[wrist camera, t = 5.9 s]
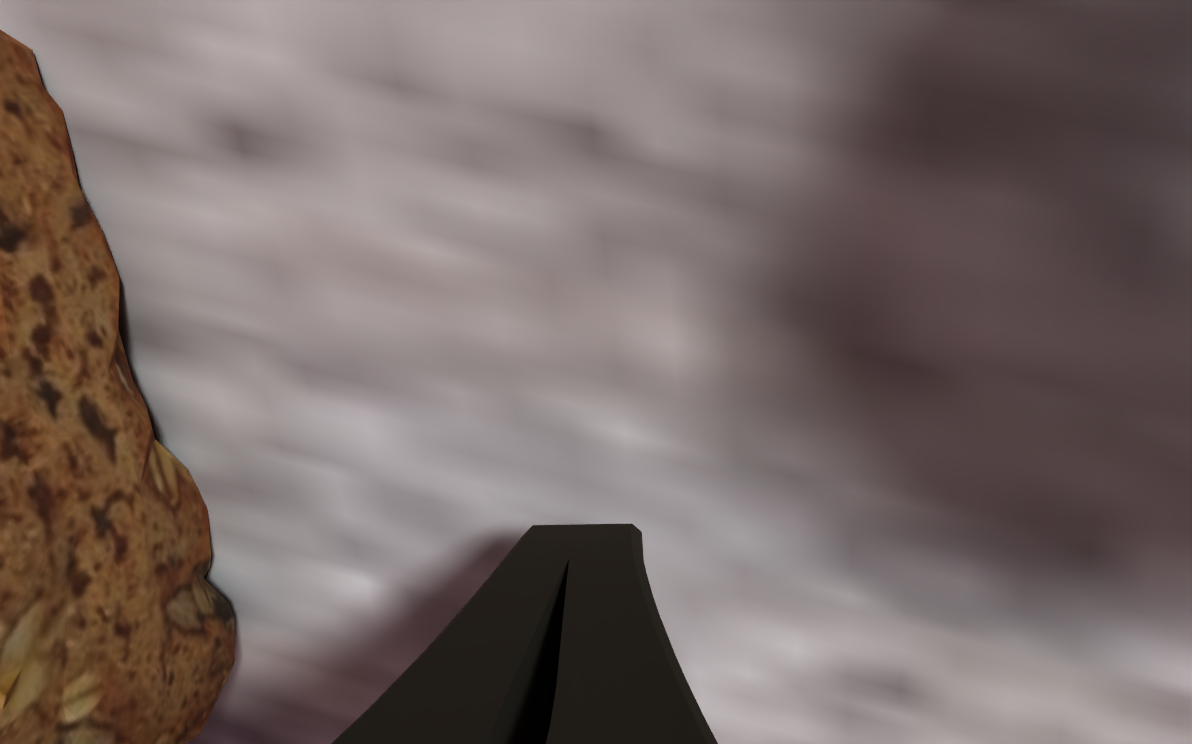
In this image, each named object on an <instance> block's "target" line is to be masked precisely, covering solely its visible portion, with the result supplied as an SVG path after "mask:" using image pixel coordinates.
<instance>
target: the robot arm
mask: <svg viewBox="0 0 1192 744" xmlns="http://www.w3.org/2000/svg"><path fill="white" fill-rule="evenodd" d="M332 744H718V743H717V741H716V739H715V737H714V735H713V733H712V732H711V730H710V728H709V726H708V724H707V722H706V720H705V718H704V716H703V714H702V712H701V710H700V708H699V706H698V703H697V701H696V699H695V697H694V695H693V693H692V691H691V689H690V687H689V685H688V683H687V681H686V678H685V676H684V674H683V672H682V669H681V667H680V665H679V663H678V660H677V658H676V656H675V653H674V651H673V648H672V646H671V643H670V641H669V638H668V636H667V633H666V631H665V628H664V625H663V623H662V620H661V618H660V615H659V613H658V610H657V607H656V604H655V601H654V598H653V595H652V591H651V588H650V584H649V581H648V577H647V574H646V570H645V565H644V560H643V545H642V532H641V531H640V530H639V529H638V528H636V527H635V526H634V525H633V524H587V525H533V526H532V527H531V528H530V529H529V530H528V531H527V532H526V533H525V534H524V535H523V537H522V538H521V539H520V540H519V541H518V543H517V544H516V545H515V546H514V548H513V549H512V550H511V551H510V552H509V554H508V555H507V556H506V557H505V559H504V560H503V561H502V562H501V564H500V565H499V566H498V567H497V568H496V570H495V571H494V572H493V573H492V575H491V576H490V577H489V578H488V579H487V581H486V582H485V583H484V584H483V585H482V587H481V588H480V589H479V590H478V591H477V593H476V594H475V595H474V596H473V597H472V598H471V600H470V601H469V602H468V603H467V604H466V605H465V606H464V608H463V609H462V610H461V611H460V612H459V613H458V614H457V615H456V617H455V618H454V619H453V620H452V621H451V622H450V623H449V625H448V626H447V627H446V628H445V629H444V630H443V631H442V632H441V634H440V635H439V636H438V637H437V638H436V639H435V640H434V641H433V643H432V644H431V645H430V646H429V647H428V648H427V649H426V650H425V651H424V652H423V653H422V654H421V655H420V656H419V658H418V659H417V660H416V661H415V662H414V663H413V664H412V665H411V666H410V667H409V668H408V669H407V670H406V671H405V672H404V673H403V674H402V675H401V676H400V677H399V678H398V679H397V680H396V681H395V682H394V683H393V684H392V685H391V686H390V687H389V688H388V689H387V690H386V691H385V692H384V693H383V694H382V695H381V696H380V697H379V698H378V700H377V701H376V702H375V703H374V704H373V705H372V706H371V707H370V708H369V709H368V710H367V711H365V712H364V713H363V714H362V715H361V716H360V717H359V718H358V719H357V720H356V721H355V722H354V723H353V724H352V725H351V726H350V727H349V728H348V729H347V730H346V731H344V732H343V733H342V734H341V735H340V736H339V737H338V738H337V739H336V740H335V741H334V742H333V743H332Z"/></svg>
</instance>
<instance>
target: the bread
mask: <svg viewBox="0 0 1192 744" xmlns="http://www.w3.org/2000/svg"><path fill="white" fill-rule="evenodd" d="M118 321H119V276H118V273H117V270H116V266H115V263H114V260H113V256H112V253H111V250H110V248H109V245H108V242H107V240H106V237H105V235H104V233H103V231H102V229H101V228H100V226H99V224H98V222H97V220H96V218H95V216H94V214H93V212H92V210H91V208H90V206H89V204H88V202H87V201H86V199H85V197H84V195H83V193H82V191H81V189H80V187H79V184H78V179H77V174H76V168H75V163H74V158H73V152H72V148H71V144H70V140H69V136H68V132H67V128H66V123H65V119H64V115H63V111H62V109H61V108H60V107H59V106H58V104H57V103H56V102H55V101H54V99H53V98H52V97H51V96H50V95H49V93H48V92H47V91H46V90H45V88H44V87H43V86H42V82H41V79H40V75H39V72H38V68H37V64H36V61H35V57H34V54H33V50H31V49H30V48H28V47H27V46H25V45H24V44H22V43H20V42H19V41H17V40H16V39H14V38H12V37H11V36H9V35H8V34H6V33H5V32H3V31H1V30H0V744H186V743H188V742H189V741H191V740H193V739H194V738H196V737H197V736H199V735H200V733H201V731H202V729H203V727H204V725H205V723H206V721H207V719H208V717H209V715H210V713H211V711H212V709H213V707H214V704H215V702H216V700H217V698H218V696H219V694H220V692H221V690H222V688H223V685H224V683H225V681H226V679H227V677H228V675H229V673H230V671H231V669H232V667H233V664H234V628H235V617H234V615H233V612H232V609H231V607H230V604H229V602H228V601H227V600H226V599H225V598H223V597H222V596H221V595H220V594H219V593H218V592H217V591H216V590H215V589H214V588H213V587H212V586H211V585H210V584H209V583H208V582H207V581H206V580H205V579H204V577H205V575H206V573H207V571H208V570H209V568H210V562H211V549H210V534H209V519H208V510H207V507H206V505H205V503H204V501H203V498H202V496H201V494H200V492H199V489H198V488H197V486H196V484H195V482H194V480H193V479H192V477H191V475H190V473H189V471H188V470H187V469H186V468H185V467H184V466H183V465H182V464H181V463H180V462H179V461H178V460H177V459H176V458H175V457H174V456H173V455H171V454H170V453H169V452H168V451H167V450H166V449H165V448H164V447H163V446H162V445H161V444H160V443H159V442H158V441H157V440H155V437H154V433H153V430H152V426H151V422H150V418H149V414H148V411H147V407H146V405H145V403H144V401H143V399H142V397H141V395H140V393H139V391H138V389H137V387H136V385H135V383H134V381H133V379H132V376H131V372H130V369H129V365H128V362H127V358H126V355H125V351H124V348H123V344H122V341H121V337H120V333H119V329H118Z"/></svg>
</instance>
